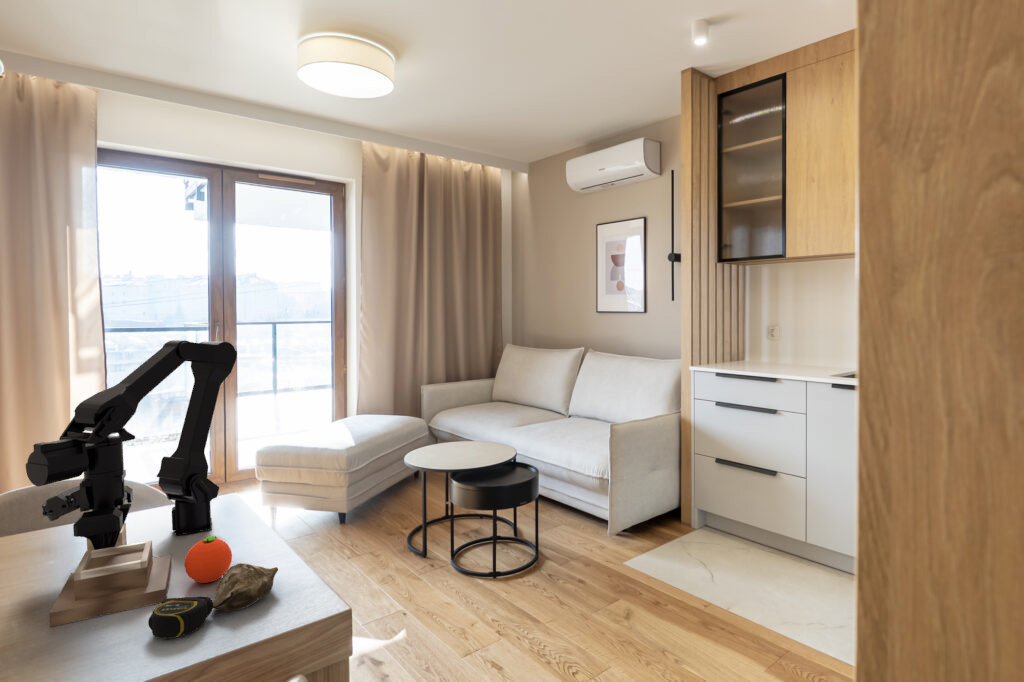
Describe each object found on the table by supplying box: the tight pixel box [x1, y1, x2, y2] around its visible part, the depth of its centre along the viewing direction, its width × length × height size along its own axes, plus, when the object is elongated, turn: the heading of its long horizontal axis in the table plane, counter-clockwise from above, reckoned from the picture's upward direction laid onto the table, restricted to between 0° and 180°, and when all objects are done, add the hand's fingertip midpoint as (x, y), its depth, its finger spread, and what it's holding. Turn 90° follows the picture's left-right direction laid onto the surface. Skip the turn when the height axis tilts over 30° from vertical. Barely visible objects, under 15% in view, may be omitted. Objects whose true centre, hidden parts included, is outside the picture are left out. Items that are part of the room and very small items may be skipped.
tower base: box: [48, 539, 172, 628], centre depth 88 cm, size 14×14×6 cm
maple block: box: [86, 523, 128, 551], centre depth 99 cm, size 5×5×6 cm
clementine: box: [183, 535, 233, 584], centre depth 92 cm, size 8×7×7 cm
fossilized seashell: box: [212, 562, 279, 612], centre depth 85 cm, size 8×7×10 cm
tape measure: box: [147, 596, 214, 639], centre depth 78 cm, size 7×7×4 cm
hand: (108, 556), depth 99 cm, fingers open, 7 cm apart
